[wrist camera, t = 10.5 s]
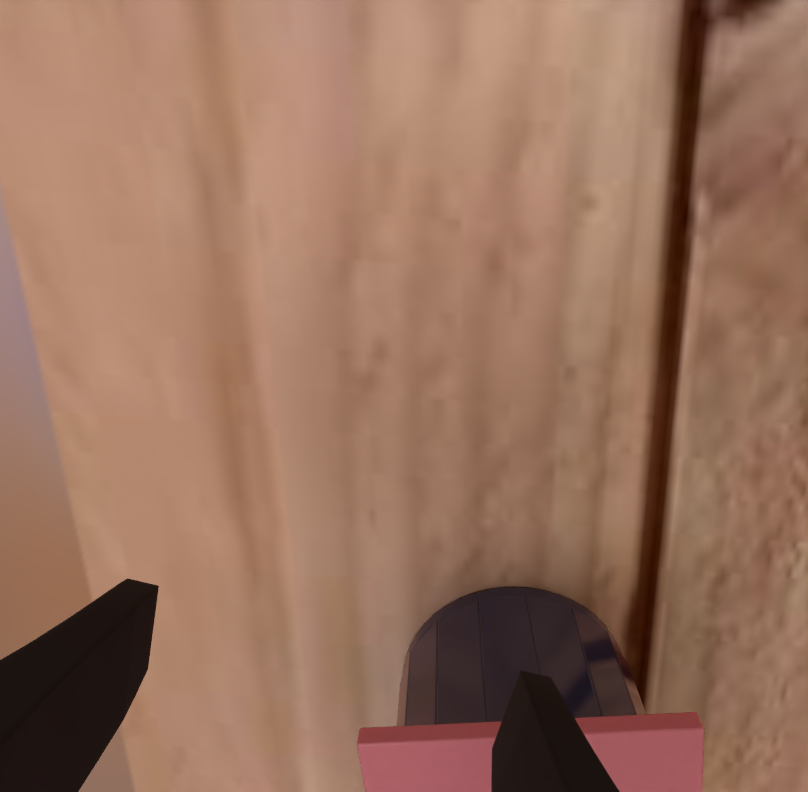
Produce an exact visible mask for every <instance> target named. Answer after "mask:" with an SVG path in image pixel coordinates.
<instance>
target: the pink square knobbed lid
mask: <svg viewBox="0 0 808 792" xmlns="http://www.w3.org/2000/svg"><path fill="white" fill-rule="evenodd" d="M575 720H576V721H577V723H578V725H579V727H580V728H581V730H582V732H583V733H584V735H585V737H586V738H587V740H588V742H589V744H590V745H591V747H592V748H593V750H594V752H595V753H596V755H597V757H598V758H599V760H600V761H601V763H602V765H603V766H604V768H605V769H606V771H607V773H608V774H609V776H610V777H611V779H612V780H613V782H614V784H615V785H616V787H617V788H618V790H619V791H620V792H702V783H703V751H704V727H703V725H702V723H701V721H700V719H699V716H698V714H697V713H696V712H687V713H666V714H645V715H624V716H603V717H582V718H575ZM501 722H502V721H498V722H477V723H456V724H435V725H414V726H393V727H372V728H361V729H360V730H359V735H358V742H357V747H358V752H359V758H360V764H361V769H362V775H363V780H364V786H365V791H366V792H491V773H492V747H493V744H494V741H495V739H496V736H497V733H498V730H499V728H500V725H501Z"/></svg>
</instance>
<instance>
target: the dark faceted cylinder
mask: <svg viewBox="0 0 808 792" xmlns="http://www.w3.org/2000/svg"><path fill="white" fill-rule="evenodd" d="M520 670H522V671H526V672H531V673H535V674H539V675H543V676H548V677H551V678H552V680H553V682H554V683H555V685H556V687H557V688H558V690H559V692H560V694H561V695H562V697H563V699H564V701H565V702H566V704H567V706H568V708H569V709H570V711H571V713H572V714H573V716H574V718H582V717H603V716H624V715H645V714H646V712H645V710H644V707H643V704H642V701H641V699H640V696H639V693H638V690H637V688H636V685H635V682H634V680H633V677H632V674H631V671H630V669H629V666H628V663H627V662H626V660H625V658H624V657H623V655H622V653H621V650H620V647H619V645H618V643H617V641H616V640H615V638H614V636H613V635H612V633H611V632H610V630H609V629H608V628H607V626H606V625H605V624H604V623H603V622H602V621H601V620H600V619H599V618H598V617H597V616H596V615H594V614H593V613H592V612H590V611H589V610H588V609H587V608H585V607H583V606H582V605H580V604H578V603H577V602H575V601H573V600H571V599H568V598H566V597H564V596H561V595H559V594H555V593H552V592H549V591H545V590H540V589H534V588H524V587H504V588H495V589H489V590H484V591H480V592H476V593H473V594H470V595H467V596H465V597H462V598H460V599H457V600H456V601H454V602H452V603H450V604H448V605H447V606H445V607H444V608H442V609H441V610H439V611H438V612H437V613H435V614H434V615H433V616H432V617H431V618H430V619H429V620H428V621H427V622H426V623H425V624H424V625H423V626H422V627H421V629H420V630H419V631H418V633H417V634H416V635H415V637H414V639H413V641H412V642H411V644H410V647H409V649H408V652H407V654H406V658H405V663H404V667H403V676H402V679H401V683H400V693H399V704H398V716H397V726H414V725H435V724H456V723H477V722H498V721H502V720H503V717H504V714H505V711H506V709H507V706H508V703H509V700H510V698H511V695H512V692H513V689H514V687H515V684H516V681H517V679H518V676H519V673H520Z"/></svg>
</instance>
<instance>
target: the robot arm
mask: <svg viewBox="0 0 808 792" xmlns="http://www.w3.org/2000/svg"><path fill="white" fill-rule="evenodd" d="M158 587H159V586H157V585H153V584H148V583H144V582H140V581H135V580H131V579H126V580H125V581H123V582H121V583H120V584H118V585H117V586H115V587H114V588H112V589H111V590H109V591H108V592H106V593H105V594H103V595H102V596H101V597H99V598H98V599H96V600H95V601H93V602H92V603H90V604H89V605H87V606H86V607H84V608H83V609H82V610H80V611H79V612H77V613H76V614H74V615H73V616H71V617H70V618H68V619H67V620H65V621H63V622H62V623H60V624H59V625H57V626H56V627H54V628H52V629H51V630H49V631H48V632H47V633H45V634H43V635H41V636H40V637H38V638H37V639H36V640H34V641H32V642H30V643H29V644H27V645H25V646H24V647H22V648H20V649H19V650H17V651H15V652H13V653H12V654H10V655H9V656H7V657H5V658H3V659H1V660H0V792H78V791H79V789H80V788H81V786H82V785H83V783H84V782H85V780H86V778H87V777H88V775H89V774H90V772H91V770H92V769H93V768H94V766H95V764H96V763H97V761H98V760H99V758H100V756H101V755H102V753H103V752H104V750H105V748H106V747H107V745H108V743H109V742H110V740H111V739H112V737H113V736H114V734H115V733H116V731H117V729H118V728H119V726H120V724H121V723H122V721H123V720H124V717H125V715H126V713H127V711H128V709H129V707H130V705H131V703H132V701H133V699H134V697H135V695H136V693H137V691H138V689H139V687H140V685H141V683H142V680H143V678H144V676H145V674H146V672H147V670H148V664H149V656H150V648H151V641H152V633H153V625H154V618H155V610H156V602H157V594H158ZM491 792H620V791H619V790H618V788H617V787H616V785H615V784H614V782H613V780H612V779H611V777H610V776H609V774H608V773H607V771H606V769H605V768H604V766H603V765H602V763H601V761H600V760H599V758H598V757H597V755H596V753H595V752H594V750H593V748H592V747H591V745H590V744H589V742H588V740H587V738H586V737H585V735H584V733H583V732H582V730H581V728H580V727H579V725H578V723H577V721H576V720H575V718H574V716H573V714H572V713H571V711H570V709H569V708H568V706H567V704H566V702H565V701H564V699H563V697H562V695H561V694H560V692H559V690H558V688H557V687H556V685H555V683H554V682H553V680H552V678H551V677H548V676H543V675H539V674H535V673H531V672H526V671H522V670H520V673H519V676H518V679H517V681H516V684H515V687H514V689H513V692H512V695H511V698H510V700H509V703H508V706H507V709H506V711H505V714H504V717H503V720H502V722H501V725H500V728H499V730H498V733H497V736H496V739H495V741H494V744H493V747H492V773H491Z"/></svg>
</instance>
